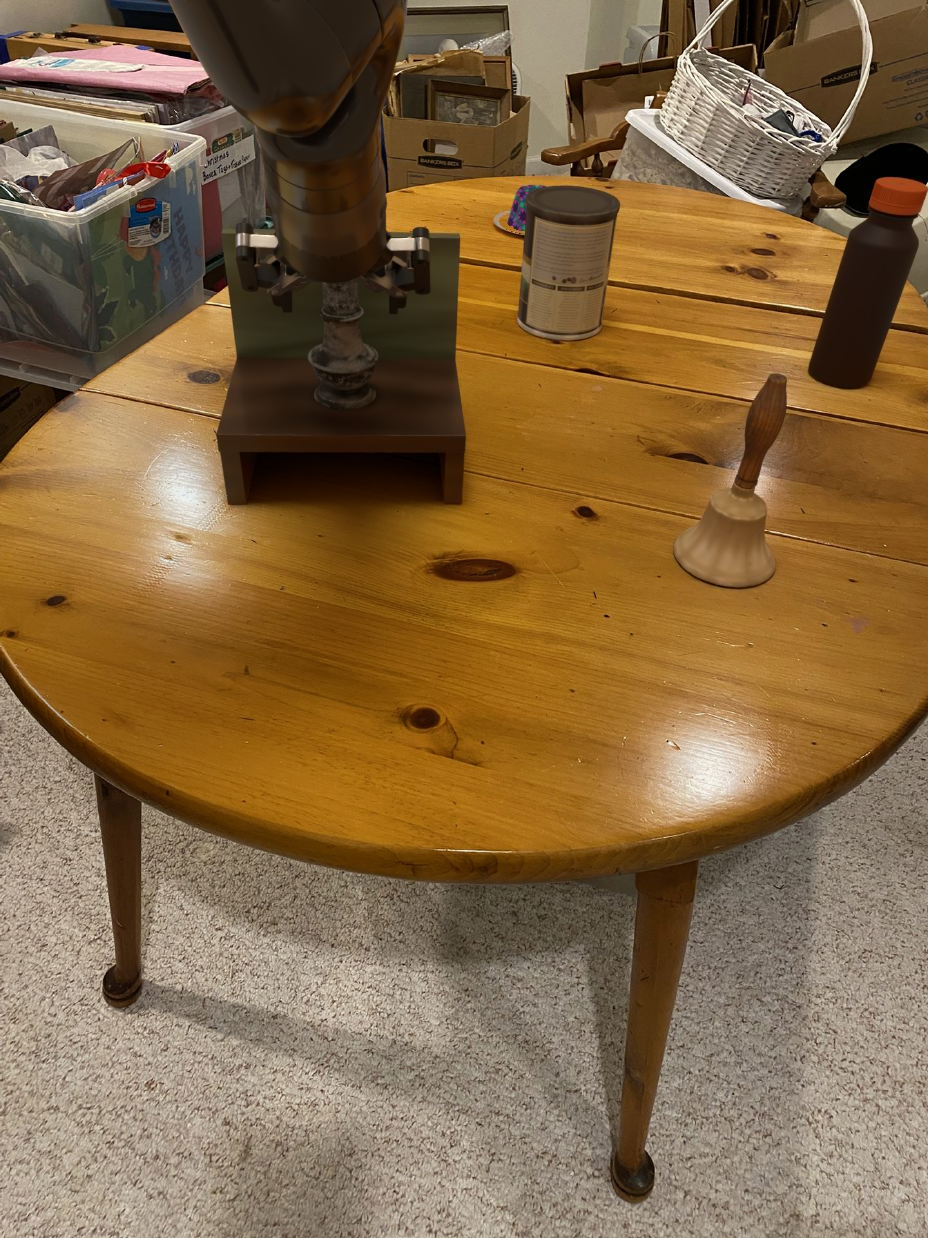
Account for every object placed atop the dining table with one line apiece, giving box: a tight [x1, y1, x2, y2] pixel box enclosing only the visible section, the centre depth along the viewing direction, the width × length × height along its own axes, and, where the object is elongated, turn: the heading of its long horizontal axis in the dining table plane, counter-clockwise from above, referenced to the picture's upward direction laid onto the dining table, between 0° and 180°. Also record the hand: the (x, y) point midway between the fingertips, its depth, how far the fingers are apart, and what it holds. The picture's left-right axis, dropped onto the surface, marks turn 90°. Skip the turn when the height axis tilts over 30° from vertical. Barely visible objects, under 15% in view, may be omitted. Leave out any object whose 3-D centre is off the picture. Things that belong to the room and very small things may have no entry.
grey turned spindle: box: [308, 282, 379, 410], centre depth 75 cm, size 6×6×12 cm
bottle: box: [807, 176, 928, 389], centre depth 96 cm, size 7×7×20 cm
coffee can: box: [516, 184, 621, 342], centre depth 105 cm, size 10×10×14 cm
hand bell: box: [672, 372, 788, 588], centre depth 71 cm, size 8×8×16 cm
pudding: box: [493, 184, 547, 236], centre depth 134 cm, size 12×12×5 cm
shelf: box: [215, 227, 467, 505], centre depth 79 cm, size 15×20×18 cm
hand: (340, 301), depth 75 cm, fingers open, 8 cm apart
